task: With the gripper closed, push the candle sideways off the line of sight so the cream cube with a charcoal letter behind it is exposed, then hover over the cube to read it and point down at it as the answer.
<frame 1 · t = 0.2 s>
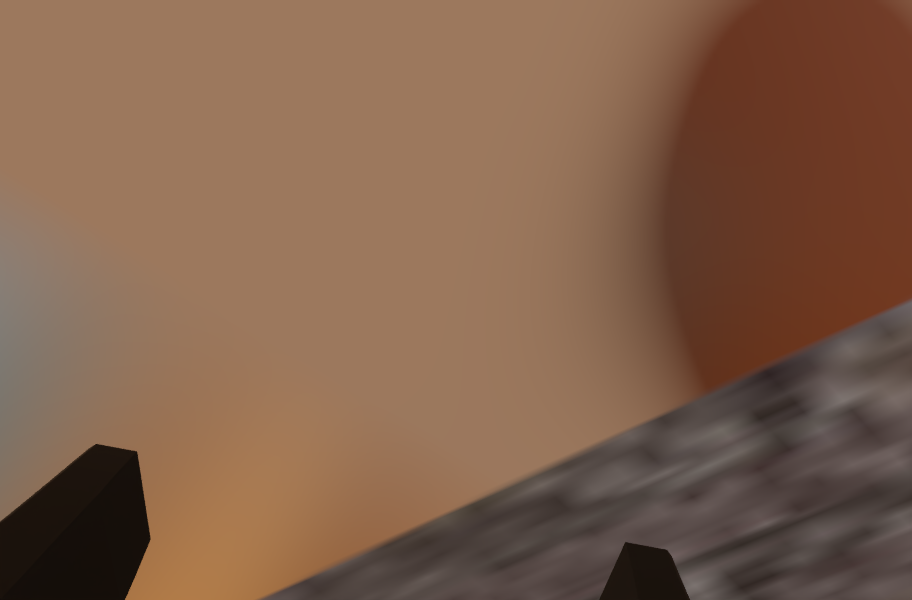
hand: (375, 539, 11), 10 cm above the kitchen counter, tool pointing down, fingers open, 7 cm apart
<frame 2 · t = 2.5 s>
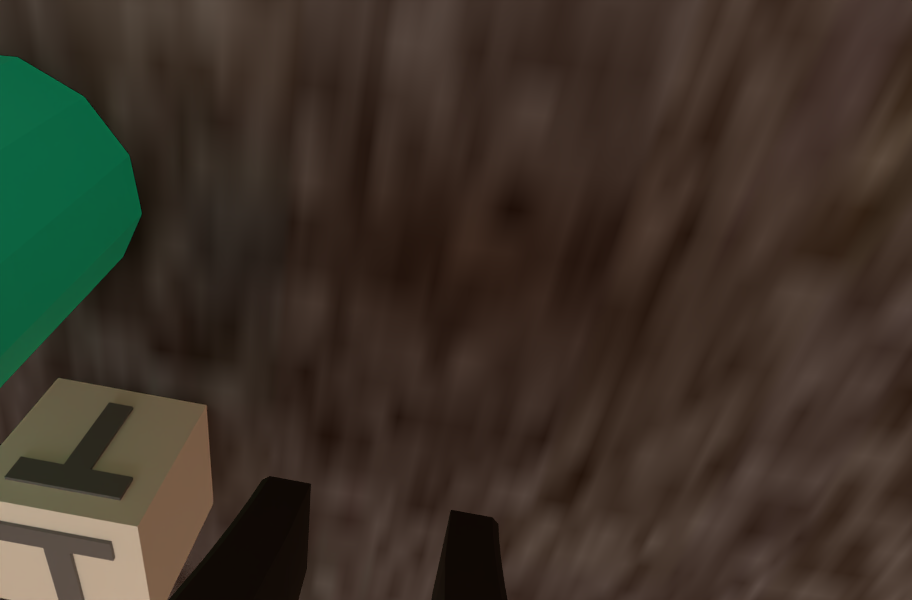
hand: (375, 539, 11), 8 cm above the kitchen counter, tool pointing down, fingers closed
letter cube: (141, 442, 23), on the kitchen counter
candle: (26, 170, 18), on the kitchen counter
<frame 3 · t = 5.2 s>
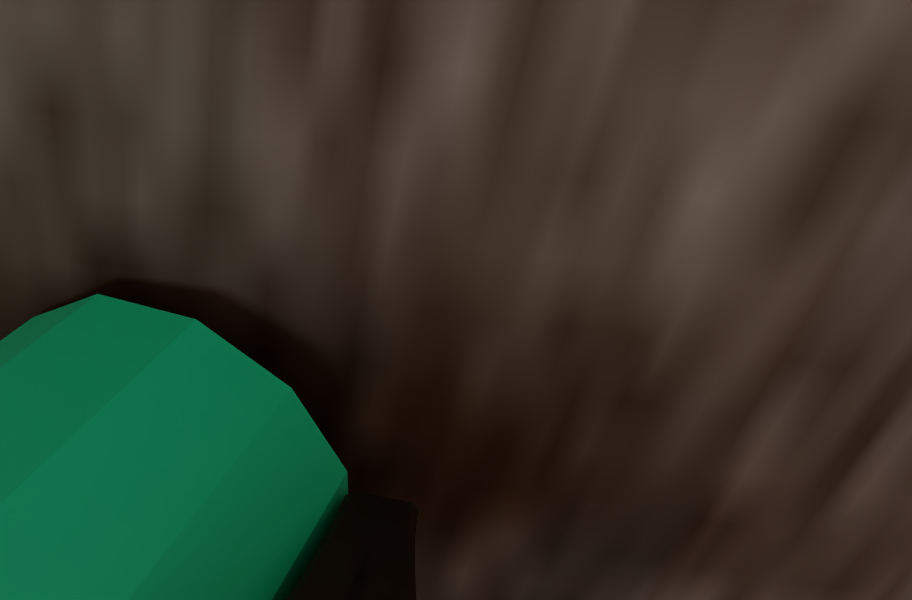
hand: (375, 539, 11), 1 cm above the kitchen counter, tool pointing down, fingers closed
candle: (188, 446, 12), on the kitchen counter, touching gripper
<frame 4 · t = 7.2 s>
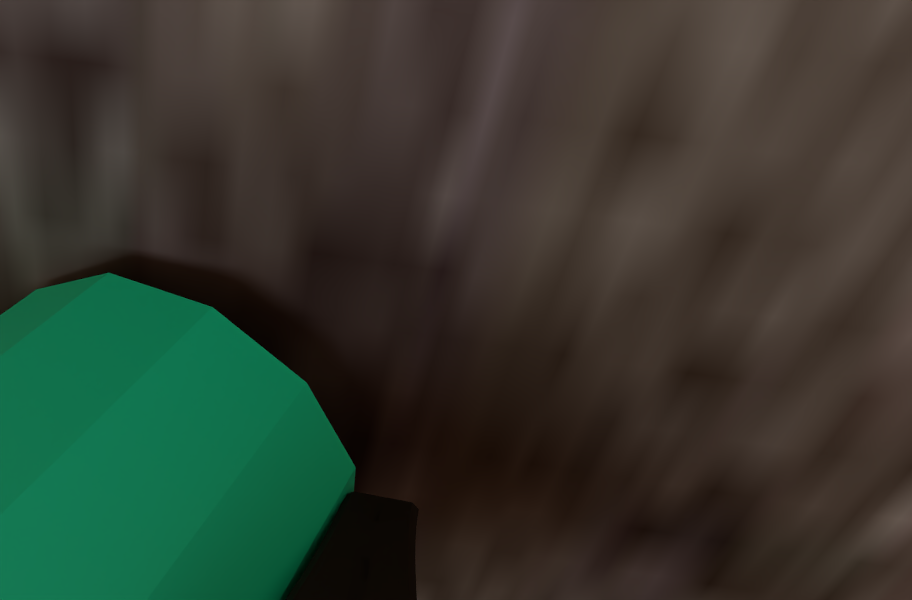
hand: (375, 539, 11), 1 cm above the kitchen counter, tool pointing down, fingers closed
candle: (189, 428, 11), on the kitchen counter, touching gripper
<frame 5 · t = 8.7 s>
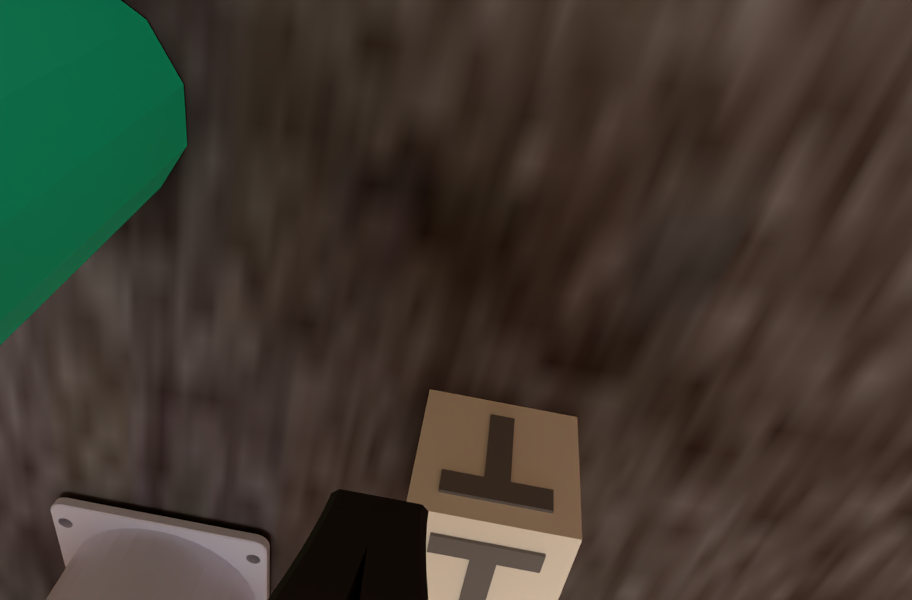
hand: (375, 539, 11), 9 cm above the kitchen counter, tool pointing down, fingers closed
letter cube: (490, 452, 23), on the kitchen counter
candle: (72, 89, 18), on the kitchen counter
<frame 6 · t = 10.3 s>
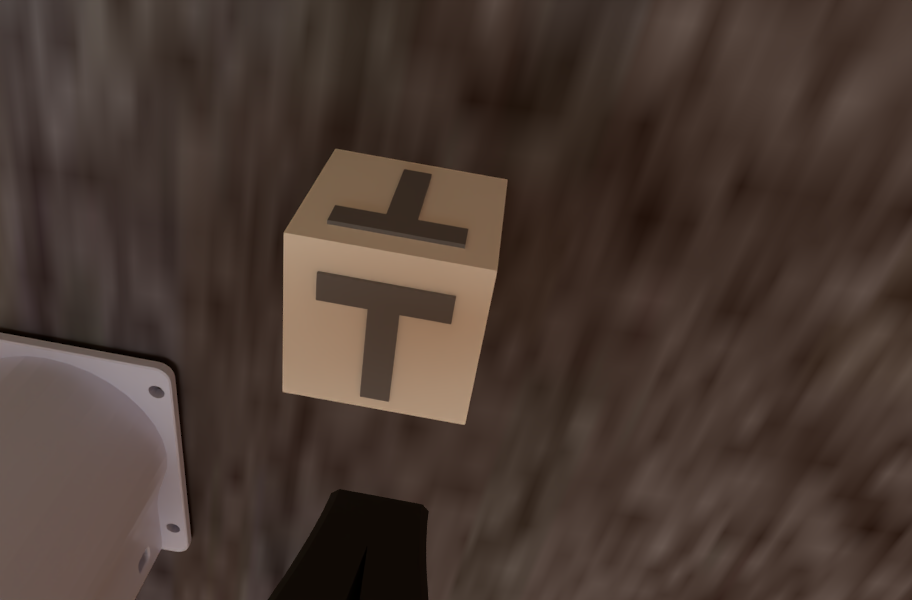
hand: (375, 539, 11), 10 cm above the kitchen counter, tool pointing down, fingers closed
letter cube: (412, 237, 20), on the kitchen counter
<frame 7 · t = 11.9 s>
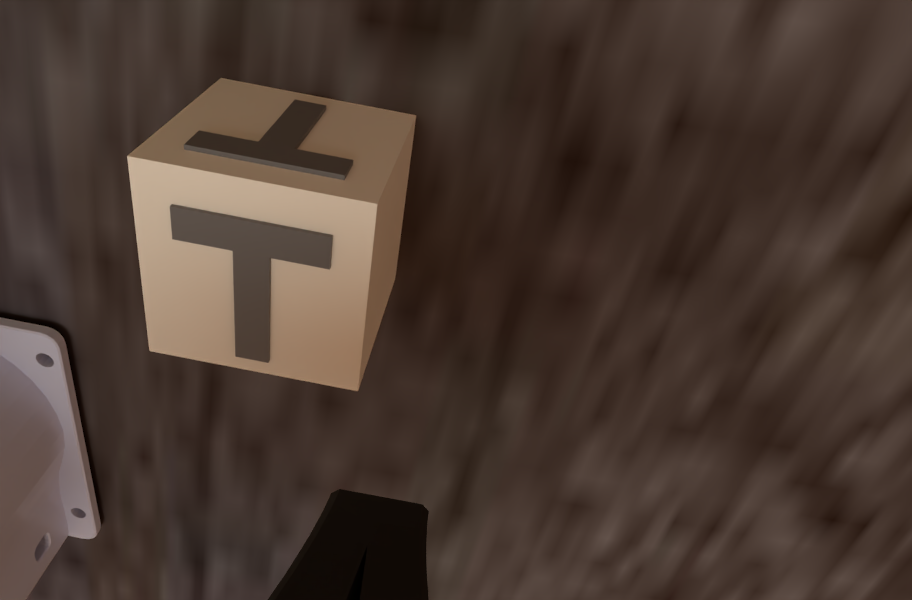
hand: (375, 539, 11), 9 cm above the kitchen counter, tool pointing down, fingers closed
letter cube: (315, 184, 18), on the kitchen counter
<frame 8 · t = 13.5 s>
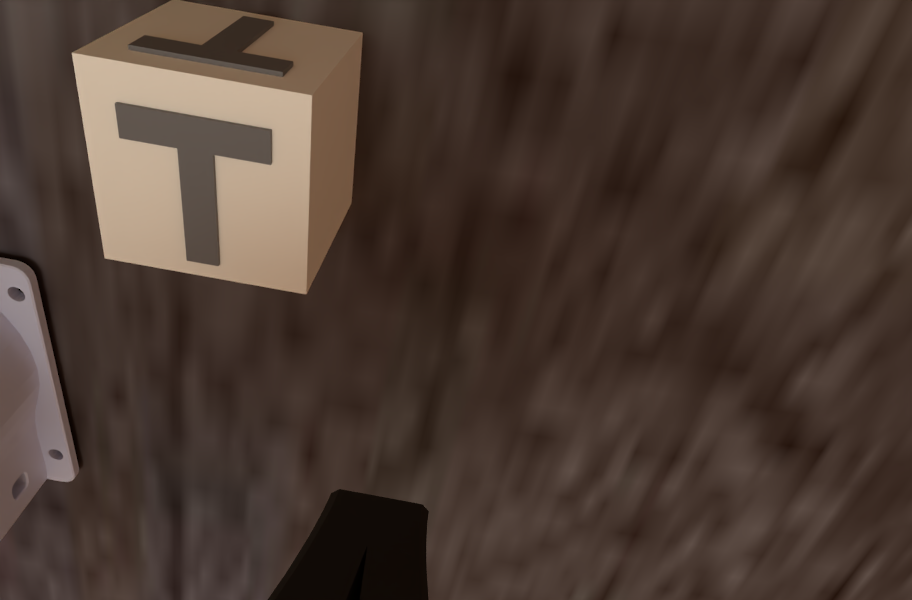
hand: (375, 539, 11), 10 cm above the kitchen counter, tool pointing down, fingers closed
letter cube: (269, 107, 18), on the kitchen counter
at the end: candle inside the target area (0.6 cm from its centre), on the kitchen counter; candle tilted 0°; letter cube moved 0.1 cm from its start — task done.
